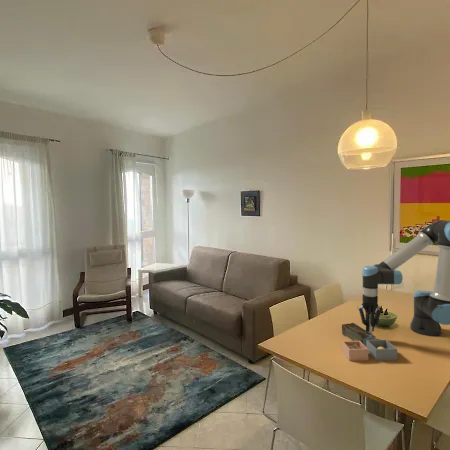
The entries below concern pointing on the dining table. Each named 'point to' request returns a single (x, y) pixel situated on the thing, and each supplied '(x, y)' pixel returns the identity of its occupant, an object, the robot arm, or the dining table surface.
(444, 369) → the dining table surface
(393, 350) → the grey tub
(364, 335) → the dark grey long box
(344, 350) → the pink open box
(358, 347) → the walnut cube
